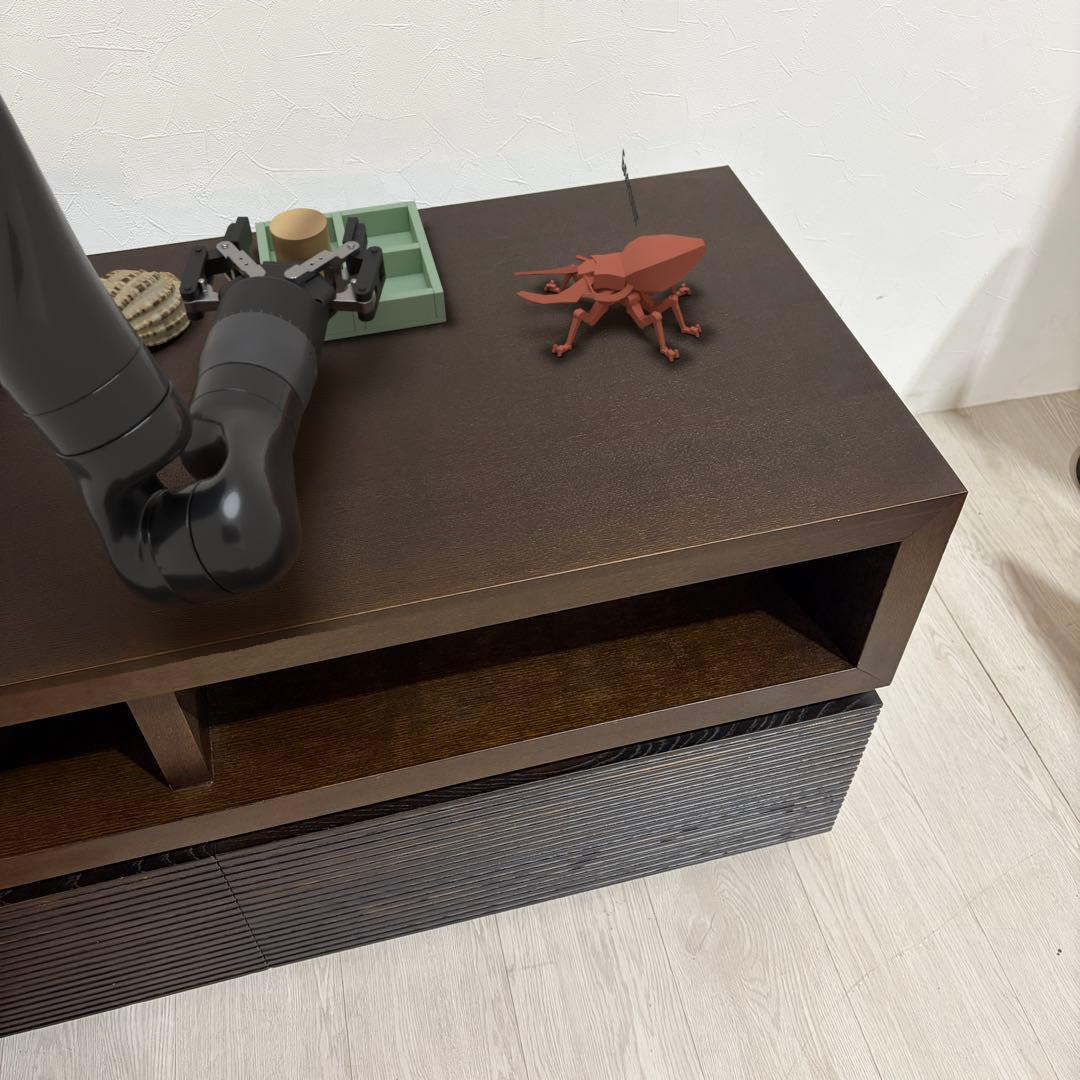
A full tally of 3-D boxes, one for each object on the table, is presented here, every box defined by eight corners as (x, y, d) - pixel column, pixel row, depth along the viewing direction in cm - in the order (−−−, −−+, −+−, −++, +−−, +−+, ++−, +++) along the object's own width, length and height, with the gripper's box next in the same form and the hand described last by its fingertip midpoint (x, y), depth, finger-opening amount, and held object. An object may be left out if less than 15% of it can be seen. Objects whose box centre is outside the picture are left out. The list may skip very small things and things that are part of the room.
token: (279, 321, 89) (259, 235, 83) (300, 289, 92) (282, 204, 86) (330, 328, 89) (313, 243, 83) (349, 297, 91) (335, 211, 85)
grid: (274, 349, 88) (267, 318, 86) (261, 252, 97) (254, 222, 95) (446, 321, 90) (443, 291, 88) (417, 229, 99) (414, 200, 97)
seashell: (121, 328, 95) (60, 355, 85) (113, 257, 92) (50, 277, 83) (207, 334, 94) (156, 362, 85) (202, 263, 92) (148, 284, 82)
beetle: (685, 269, 95) (700, 131, 85) (710, 360, 86) (729, 218, 77) (512, 278, 94) (507, 140, 85) (520, 370, 86) (516, 229, 76)
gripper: (358, 314, 72) (385, 182, 82) (141, 314, 72) (197, 182, 83) (372, 401, 77) (396, 267, 88) (171, 401, 77) (220, 267, 88)
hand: (300, 226), depth 85 cm, fingers open, 8 cm apart
